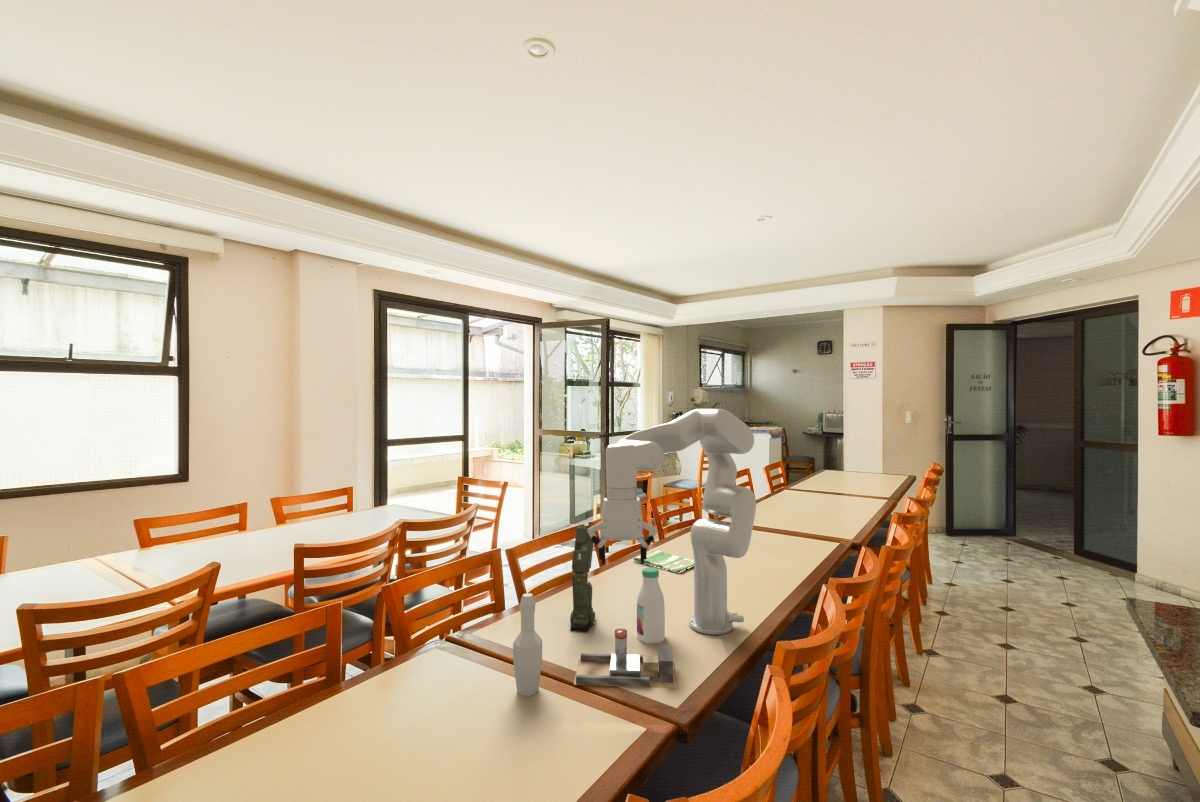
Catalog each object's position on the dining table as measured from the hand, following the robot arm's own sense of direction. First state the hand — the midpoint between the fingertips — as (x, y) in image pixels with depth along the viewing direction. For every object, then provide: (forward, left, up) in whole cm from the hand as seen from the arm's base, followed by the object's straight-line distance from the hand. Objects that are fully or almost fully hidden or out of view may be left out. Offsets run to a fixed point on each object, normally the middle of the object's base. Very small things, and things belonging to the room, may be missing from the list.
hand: (622, 562), depth 131 cm
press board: (-1, +4, -27) cm, 27 cm away
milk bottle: (-7, -16, -27) cm, 32 cm away
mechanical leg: (+13, -27, -27) cm, 41 cm away
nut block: (-7, +4, -26) cm, 27 cm away
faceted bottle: (+22, +11, -27) cm, 36 cm away
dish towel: (-16, -89, -28) cm, 95 cm away
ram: (-1, +4, -25) cm, 26 cm away
